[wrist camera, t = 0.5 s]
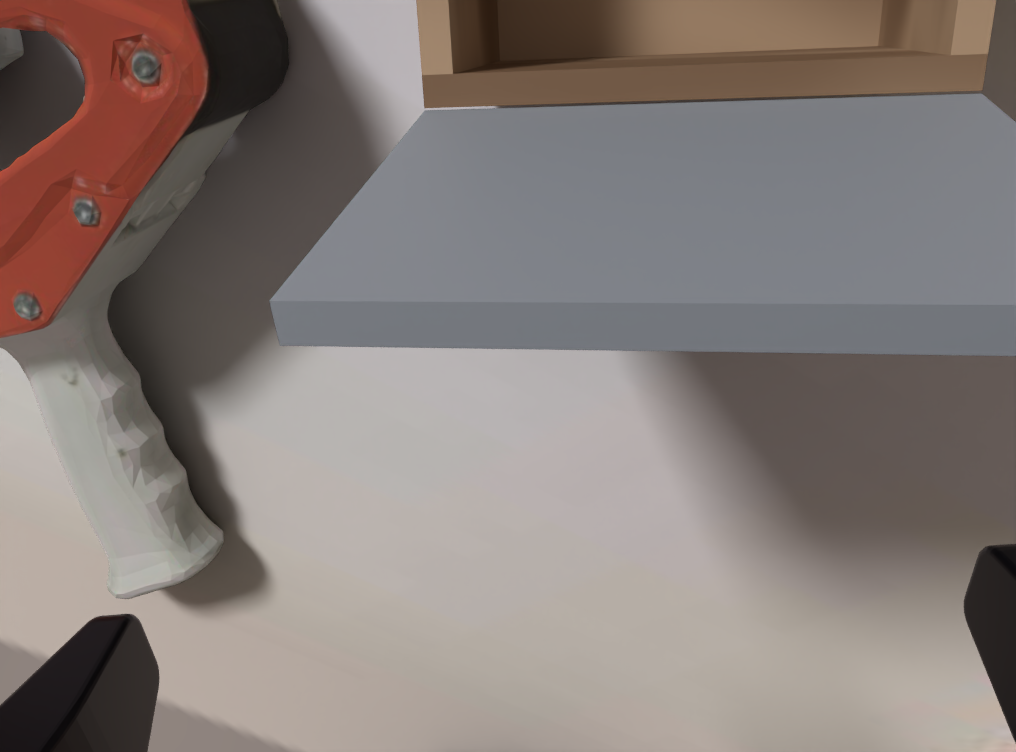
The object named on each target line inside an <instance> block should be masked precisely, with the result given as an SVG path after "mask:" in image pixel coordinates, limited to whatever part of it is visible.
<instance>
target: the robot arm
mask: <svg viewBox="0 0 1016 752" xmlns="http://www.w3.org/2000/svg"><path fill="white" fill-rule="evenodd" d="M964 613H965V618H966V621H967V624H968V627H969V629H970V632H971V634H972V637H973V639H974V642H975V644H976V647H977V649H978V652H979V654H980V656H981V659H982V661H983V664H984V666H985V669H986V671H987V674H988V676H989V679H990V681H991V684H992V686H993V689H994V691H995V694H996V696H997V699H998V701H999V704H1000V706H1001V709H1002V711H1003V714H1004V716H1005V718H1006V721H1007V723H1008V726H1009V728H1010V731H1011V733H1012V736H1013V738H1014V740H1015V742H1016V544H1006V545H993V546H987V547H985V548H984V549H983V550H982V551H981V552H980V553H979V555H978V558H977V561H976V564H975V567H974V570H973V573H972V576H971V579H970V582H969V585H968V589H967V592H966V595H965V599H964ZM158 688H159V669H158V664H157V661H156V659H155V656H154V654H153V651H152V649H151V646H150V644H149V642H148V639H147V637H146V634H145V632H144V630H143V627H142V625H141V623H140V621H139V619H138V618H137V617H136V616H134V615H132V614H120V615H107V616H99V617H96V618H94V619H92V620H90V621H89V622H88V623H87V624H85V625H84V626H83V627H82V628H81V629H80V630H79V631H78V632H77V633H76V634H75V635H74V636H73V637H72V638H71V639H70V640H69V641H68V642H66V643H65V644H64V645H63V646H62V647H61V648H60V649H59V650H58V651H57V652H56V653H55V654H54V655H53V656H52V657H51V658H50V659H48V660H47V661H46V662H45V663H44V664H43V665H42V666H41V667H40V668H39V669H38V670H37V671H36V672H35V673H34V674H33V675H32V676H31V677H30V678H28V679H27V680H26V681H25V682H24V683H23V684H22V685H21V686H20V687H19V688H18V689H17V690H16V691H15V692H14V693H13V694H12V695H11V696H9V697H8V698H7V699H6V700H5V701H4V702H3V703H2V704H1V705H0V752H147V751H148V746H149V740H150V734H151V728H152V723H153V716H154V711H155V705H156V700H157V694H158Z"/></svg>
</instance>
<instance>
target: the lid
mask: <svg viewBox="0 0 1016 752" xmlns="http://www.w3.org/2000/svg"><path fill="white" fill-rule="evenodd" d="M269 302H270V307H271V311H272V315H273V319H274V323H275V327H276V332H277V336H278V340H279V344H280V346H342V347H412V348H482V349H552V350H622V351H692V352H762V353H832V354H902V355H972V356H1016V122H1015V121H1014V120H1013V119H1012V118H1010V117H1009V116H1008V115H1007V114H1006V113H1004V112H1003V111H1002V110H1001V109H1000V108H998V107H997V106H996V105H995V104H994V103H993V102H991V101H990V100H989V99H988V98H987V97H985V96H984V95H983V94H982V93H979V94H947V95H915V96H882V97H850V98H817V99H785V100H752V101H720V102H688V103H655V104H623V105H590V106H558V107H525V108H493V109H460V110H428V111H424V112H423V113H422V115H421V116H420V117H419V118H418V120H417V121H416V122H415V123H414V124H413V126H412V127H411V128H410V129H409V131H408V132H407V133H406V134H405V135H404V137H403V138H402V139H401V140H400V142H399V143H398V144H397V145H396V146H395V148H394V149H393V150H392V151H391V153H390V154H389V155H388V156H387V157H386V159H385V160H384V161H383V162H382V164H381V165H380V166H379V167H378V168H377V170H376V171H375V172H374V173H373V175H372V176H371V177H370V178H369V179H368V181H367V182H366V183H365V184H364V186H363V187H362V188H361V189H360V190H359V192H358V193H357V194H356V195H355V197H354V198H353V199H352V200H351V201H350V203H349V204H348V205H347V206H346V208H345V209H344V210H343V211H342V212H341V214H340V215H339V216H338V217H337V219H336V220H335V221H334V222H333V223H332V225H331V226H330V227H329V228H328V230H327V231H326V232H325V233H324V234H323V236H322V237H321V238H320V239H319V241H318V242H317V243H316V244H315V245H314V247H313V248H312V249H311V250H310V252H309V253H308V254H307V255H306V256H305V258H304V259H303V260H302V261H301V263H300V264H299V265H298V266H297V267H296V269H295V270H294V271H293V272H292V274H291V275H290V276H289V277H288V278H287V280H286V281H285V282H284V283H283V285H282V286H281V287H280V288H279V289H278V291H277V292H276V293H275V294H274V296H273V297H272V298H271V299H270V300H269Z"/></svg>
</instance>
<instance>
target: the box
mask: <svg viewBox="0 0 1016 752" xmlns="http://www.w3.org/2000/svg"><path fill="white" fill-rule="evenodd" d="M416 2H417V15H418V28H419V41H420V54H421V68H422V81H423V94H424V107H425V108H440V107H472V106H504V105H536V104H568V103H600V102H631V101H663V100H695V99H727V98H759V97H791V96H823V95H855V94H887V93H919V92H951V91H982V90H983V83H984V77H985V70H986V64H987V57H988V51H989V44H990V38H991V31H992V25H993V18H994V12H995V5H996V0H416Z"/></svg>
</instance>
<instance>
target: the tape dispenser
mask: <svg viewBox="0 0 1016 752" xmlns="http://www.w3.org/2000/svg"><path fill="white" fill-rule="evenodd" d="M20 30H27V31H47V32H48V33H49V34H51V35H52V36H53V37H55V38H56V39H57V40H59V41H60V42H61V43H63V44H64V45H65V46H66V47H67V48H68V49H69V50H70V51H71V53H72V54H73V55H74V56H75V57H76V58H77V59H78V61H79V64H80V67H81V70H82V73H83V75H84V81H85V96H84V97H83V103H82V105H81V106H80V108H79V109H78V111H77V112H76V114H75V115H74V117H73V118H72V119H71V120H69V121H68V122H67V123H65V124H64V125H63V126H61V127H60V128H59V129H57V130H56V131H55V132H53V133H52V134H51V135H50V136H48V137H47V138H46V139H44V140H43V141H41V142H39V143H38V144H36V145H35V146H33V147H32V148H31V149H30V150H29V151H28V152H27V153H26V154H24V155H22V156H20V157H18V158H17V159H16V160H15V161H14V162H13V163H12V164H11V165H10V166H9V167H8V168H6V169H4V170H2V171H0V347H1V348H3V349H5V350H6V351H7V352H8V353H9V354H10V355H12V356H13V357H14V358H15V359H16V360H17V361H18V362H19V364H20V366H21V367H22V369H23V371H24V372H25V374H26V376H27V377H28V379H29V381H30V383H31V386H32V389H33V392H34V395H35V397H36V400H37V403H38V406H39V409H40V411H41V414H42V417H43V420H44V423H45V425H46V428H47V431H48V433H49V436H50V438H51V441H52V443H53V445H54V448H55V450H56V453H57V455H58V457H59V460H60V462H61V464H62V467H63V469H64V472H65V474H66V476H67V479H68V481H69V483H70V485H71V487H72V489H73V491H74V493H75V495H76V497H77V499H78V501H79V503H80V505H81V507H82V510H83V512H84V513H85V515H86V517H87V519H88V521H89V523H90V525H91V526H92V528H93V530H94V532H95V534H96V536H97V538H98V540H99V542H100V544H101V546H102V547H103V549H104V551H105V553H106V555H107V557H108V561H109V573H108V580H107V587H108V590H109V592H110V593H111V594H112V595H113V596H114V597H115V598H120V599H130V598H133V597H137V596H140V595H144V594H147V593H150V592H153V591H157V590H160V589H163V588H167V587H170V586H174V585H177V584H179V583H181V582H183V581H185V580H187V579H189V578H191V577H192V576H194V575H195V574H197V573H198V572H200V571H201V570H202V569H204V568H205V567H206V566H207V565H208V564H209V563H210V562H211V561H212V560H213V559H214V558H215V557H216V555H217V554H218V552H219V551H220V549H221V548H222V545H223V541H224V534H223V531H222V530H221V529H220V528H219V527H218V526H217V525H215V524H214V523H213V522H212V521H211V520H209V518H208V517H207V516H206V515H205V514H204V512H203V511H202V510H201V509H200V507H199V506H198V505H197V503H196V501H195V499H194V497H193V495H192V494H191V492H190V488H189V485H188V479H187V473H186V470H185V468H184V467H183V466H182V465H181V463H180V462H179V461H178V460H177V459H176V457H175V456H174V455H173V453H172V452H171V450H170V448H169V447H168V445H167V442H166V440H165V436H164V430H163V426H162V424H161V422H160V420H159V419H158V418H157V416H156V415H155V414H154V412H153V411H152V410H151V409H150V407H149V405H148V403H147V401H146V399H145V397H144V394H143V392H142V389H141V380H140V375H139V373H138V371H137V370H136V369H135V368H134V367H133V365H132V364H131V363H130V362H129V360H128V359H127V358H126V357H125V355H124V354H123V352H122V350H121V349H120V347H119V345H118V343H117V341H116V340H115V338H114V336H113V334H112V331H111V328H110V326H109V323H108V319H107V311H108V306H109V302H110V298H111V294H112V292H113V291H114V289H115V288H116V286H117V285H118V283H119V282H121V281H122V280H124V279H125V278H127V277H128V276H130V275H131V274H133V273H134V272H136V271H137V270H138V269H139V267H140V266H141V265H142V263H143V262H144V261H145V260H146V258H147V257H148V256H149V254H150V253H151V252H152V250H153V249H154V248H155V246H156V245H157V244H158V242H159V241H160V240H161V238H162V237H163V236H164V234H165V233H166V232H167V230H168V229H169V228H170V227H171V225H172V224H173V223H174V221H175V220H176V219H177V217H178V216H179V215H180V214H181V212H182V211H183V210H184V209H185V207H186V206H187V205H188V203H189V202H190V201H191V200H192V198H193V197H194V196H195V195H196V193H197V192H198V191H199V189H200V187H201V185H202V184H203V182H204V180H205V178H206V176H205V171H206V170H207V169H208V167H209V166H210V165H211V164H212V162H213V161H214V160H215V158H216V157H217V156H218V154H219V153H220V151H221V150H222V148H223V147H224V146H225V144H226V143H227V141H228V140H229V138H230V137H231V135H232V134H233V133H234V131H235V130H236V128H237V127H238V126H239V124H240V123H241V121H242V120H243V119H244V117H245V116H246V114H247V113H248V112H249V110H250V109H251V108H253V107H255V106H257V105H258V104H260V103H262V102H264V101H265V100H267V99H269V98H270V97H271V96H272V95H273V94H274V93H275V92H276V91H277V89H278V88H279V87H280V85H281V84H282V82H283V80H284V77H285V74H286V71H287V68H288V65H289V58H288V38H287V35H286V32H285V28H284V25H283V21H282V18H281V14H280V10H279V6H278V1H277V0H0V70H1V69H3V68H4V67H5V66H7V65H8V64H10V63H11V62H13V61H15V60H16V59H18V58H19V57H21V56H23V52H24V49H23V43H22V36H21V33H20Z"/></svg>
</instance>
